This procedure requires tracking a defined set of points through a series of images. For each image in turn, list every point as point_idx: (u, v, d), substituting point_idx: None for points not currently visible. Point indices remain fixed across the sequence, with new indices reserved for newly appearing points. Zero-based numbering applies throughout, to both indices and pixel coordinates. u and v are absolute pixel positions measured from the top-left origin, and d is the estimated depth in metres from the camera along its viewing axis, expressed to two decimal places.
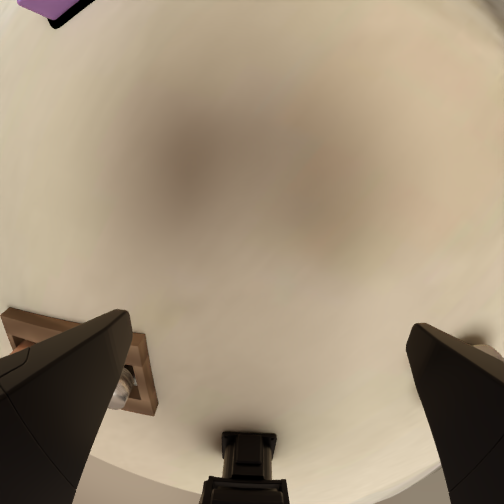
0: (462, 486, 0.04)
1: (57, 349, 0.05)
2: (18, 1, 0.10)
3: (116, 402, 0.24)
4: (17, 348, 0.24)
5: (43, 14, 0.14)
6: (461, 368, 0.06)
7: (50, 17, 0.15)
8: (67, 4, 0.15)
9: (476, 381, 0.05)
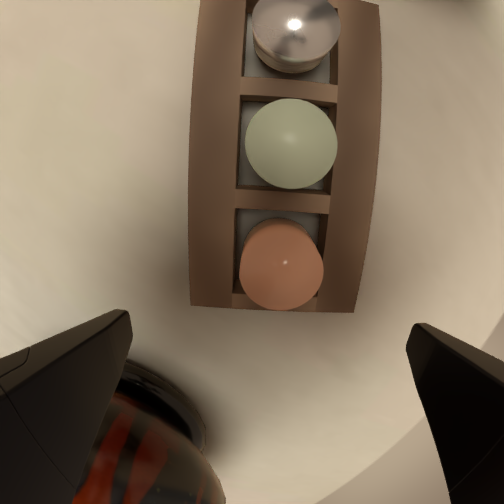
0: (462, 486, 0.04)
1: (57, 349, 0.05)
2: None
3: (312, 5, 0.10)
4: None
5: None
6: (461, 368, 0.06)
7: None
8: None
9: (475, 381, 0.05)
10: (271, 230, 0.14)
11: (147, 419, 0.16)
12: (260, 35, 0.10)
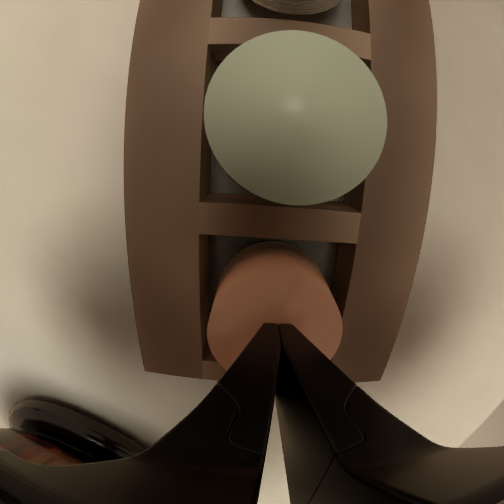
0: None
1: (259, 380, 0.05)
2: None
3: None
4: None
5: None
6: (293, 383, 0.06)
7: None
8: None
9: None
10: (258, 267, 0.08)
11: None
12: None
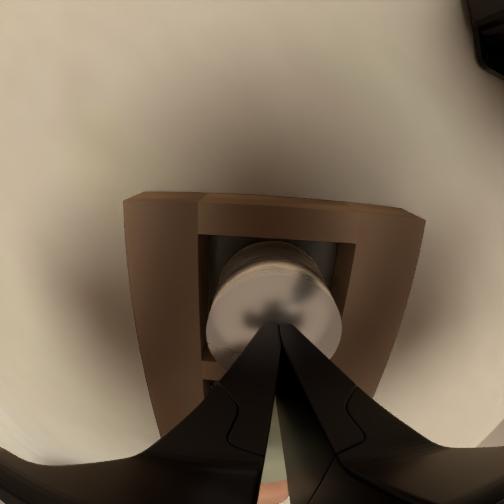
0: None
1: (259, 380, 0.05)
2: None
3: (302, 310, 0.08)
4: None
5: None
6: (293, 383, 0.06)
7: None
8: None
9: None
10: None
11: None
12: (219, 359, 0.09)
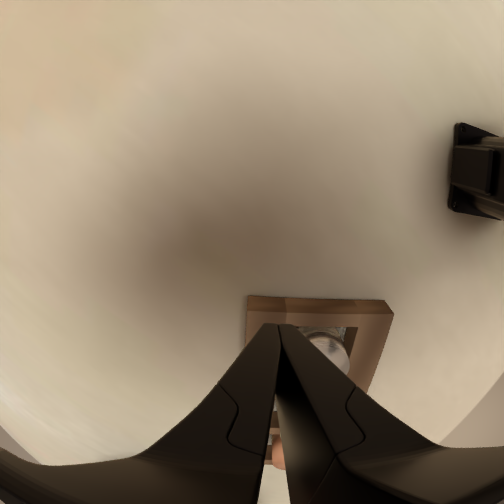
0: None
1: (259, 380, 0.05)
2: None
3: (333, 359, 0.18)
4: None
5: None
6: (293, 383, 0.06)
7: None
8: None
9: None
10: None
11: None
12: None
